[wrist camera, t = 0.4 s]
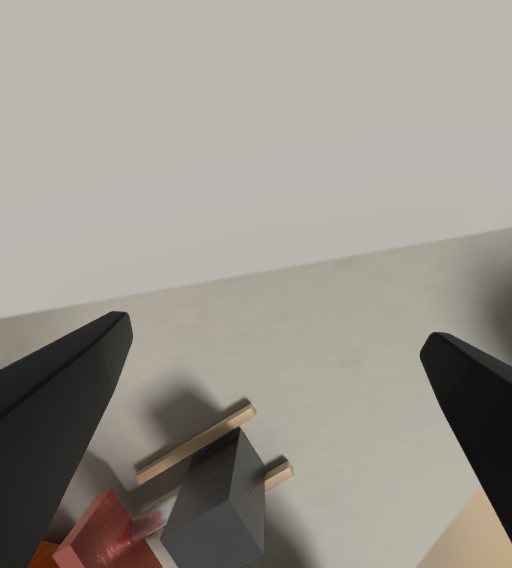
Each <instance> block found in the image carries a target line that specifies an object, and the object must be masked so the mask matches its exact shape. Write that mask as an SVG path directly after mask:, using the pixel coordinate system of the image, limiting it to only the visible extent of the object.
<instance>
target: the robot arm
mask: <svg viewBox="0 0 512 568" xmlns="http://www.w3.org/2000/svg"><path fill="white" fill-rule="evenodd" d="M132 340H133V332H132V327H131V322H130V317H129V314H128V313H127V312H120V311H112V312H109V313H107V314H105V315H104V316H102V317H100V318H98V319H96V320H94V321H92V322H90V323H88V324H86V325H85V326H83V327H81V328H79V329H77V330H75V331H73V332H71V333H69V334H67V335H65V336H64V337H62V338H60V339H58V340H56V341H54V342H52V343H50V344H48V345H46V346H45V347H43V348H41V349H39V350H37V351H35V352H33V353H31V354H29V355H27V356H25V357H24V358H22V359H20V360H18V361H16V362H14V363H12V364H10V365H8V366H6V367H5V368H3V369H1V370H0V568H28V567H29V565H30V563H31V561H32V559H33V557H34V555H35V553H36V551H37V548H38V546H39V544H40V542H41V540H42V538H43V536H44V534H45V532H46V530H47V528H48V526H49V524H50V522H51V520H52V518H53V516H54V514H55V512H56V510H57V508H58V506H59V504H60V502H61V499H62V497H63V495H64V493H65V491H66V489H67V487H68V485H69V483H70V481H71V479H72V477H73V475H74V473H75V471H76V469H77V467H78V465H79V463H80V461H81V459H82V457H83V455H84V453H85V450H86V448H87V446H88V444H89V442H90V440H91V438H92V436H93V434H94V432H95V430H96V428H97V426H98V424H99V422H100V420H101V418H102V416H103V414H104V412H105V410H106V408H107V406H108V404H109V401H110V399H111V397H112V395H113V393H114V390H115V388H116V385H117V383H118V380H119V377H120V374H121V372H122V369H123V366H124V363H125V360H126V358H127V355H128V352H129V349H130V347H131V344H132ZM420 360H421V362H422V364H423V367H424V369H425V372H426V374H427V377H428V379H429V381H430V384H431V386H432V389H433V391H434V393H435V396H436V398H437V401H438V403H439V405H440V407H441V409H442V411H443V413H444V415H445V417H446V419H447V421H448V423H449V425H450V427H451V429H452V431H453V432H454V434H455V436H456V438H457V440H458V442H459V444H460V446H461V448H462V450H463V451H464V453H465V455H466V457H467V459H468V461H469V463H470V465H471V467H472V469H473V470H474V472H475V474H476V476H477V478H478V480H479V482H480V484H481V486H482V488H483V489H484V491H485V493H486V495H487V496H488V499H489V501H490V503H491V505H492V506H493V508H494V510H495V512H496V514H497V516H498V518H499V520H500V522H501V524H502V526H503V527H504V529H505V531H506V533H507V535H508V537H509V539H510V541H511V542H512V366H510V365H508V364H506V363H504V362H502V361H500V360H498V359H496V358H495V357H493V356H491V355H489V354H487V353H485V352H483V351H481V350H479V349H477V348H476V347H474V346H472V345H470V344H468V343H466V342H464V341H462V340H460V339H459V338H457V337H455V336H453V335H451V334H449V333H444V332H433V333H431V334H430V335H429V337H428V339H427V340H426V342H425V344H424V346H423V347H422V349H421V351H420Z"/></svg>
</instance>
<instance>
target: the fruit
mask: <svg viewBox="0 0 512 568" xmlns="http://www.w3.org/2000/svg"><path fill="white" fill-rule="evenodd" d="M59 546H60V544H55V543H52V542H47V541H41V542H40V544H39V546H38V548H37V551H36V553H35V555H34V557H33V559H32V561H31V563H30V565H29V567H28V568H60V567H59V566H58V564H57V563H56V561H55V560H54V558H53V556H52V555H53V554H54V552H55V551H56V550H57V548H58V547H59Z"/></svg>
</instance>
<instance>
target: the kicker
mask: <svg viewBox="0 0 512 568" xmlns="http://www.w3.org/2000/svg"><path fill="white" fill-rule="evenodd" d="M264 521H265V466H264V464H263V463H262V461H261V460H260V458H259V456H258V455H257V453H256V452H255V450H254V449H253V447H252V446H251V444H250V442H249V441H248V439H247V438H246V436H245V435H244V433H243V432H242V430H241V429H239V430H237V431H236V432H234V433H232V434H231V435H229V436H227V437H226V438H224V439H222V440H221V441H219V442H217V443H216V444H214V445H212V446H211V447H209V448H207V449H206V450H204V451H202V452H200V453H199V454H197V455H195V456H194V457H193V459H192V461H191V464H190V466H189V468H188V471H187V473H186V476H185V478H184V481H183V483H182V486H181V488H180V491H178V492H177V493H175V494H173V495H171V496H170V497H168V498H166V499H165V500H163V501H161V502H160V503H158V504H156V505H154V506H153V507H151V508H149V509H148V510H146V511H144V512H143V513H141V514H139V515H138V516H136V517H134V518H133V519H131V518H130V516H129V515H128V513H127V511H126V510H125V508H124V507H123V505H122V504H121V502H120V501H119V499H118V498H117V496H116V495H115V493H114V492H113V490H112V488H110V489H109V490H107V491H105V492H104V493H102V494H100V495H99V496H97V497H96V498H95V500H94V501H93V502H92V504H91V505H90V506H89V508H88V509H87V510H86V512H85V513H84V514H83V515H82V517H81V518H80V519H79V521H78V522H77V523H76V525H75V526H74V527H73V529H72V530H71V531H70V533H69V534H68V535H67V536H66V538H65V539H64V540H63V542H62V543H61V544H60V546H59V547H58V548H57V550H56V551H55V552H54V554H53V555H52V556H53V558H54V560H55V561H56V563H57V564H58V566H59V567H60V568H163V567H162V565H161V564H160V562H159V560H158V559H157V557H156V556H155V554H154V553H153V551H152V550H151V548H150V547H149V545H148V544H147V542H146V541H145V539H144V537H146V536H147V535H149V534H151V533H152V532H154V531H156V530H158V529H159V528H161V527H163V526H164V525H165V528H164V530H163V533H162V535H161V538H160V540H161V542H162V543H163V545H164V546H165V548H166V549H167V551H168V552H169V554H170V556H171V557H172V559H173V560H174V562H175V563H176V565H177V566H178V568H242V567H244V566H246V565H247V564H249V563H251V562H253V561H255V560H256V559H258V558H260V557H262V556H263V555H264Z"/></svg>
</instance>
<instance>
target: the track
mask: <svg viewBox="0 0 512 568" xmlns="http://www.w3.org/2000/svg"><path fill="white" fill-rule="evenodd" d="M255 416H256V410H255V408H254V406H253V405H252V403H250V404H249V405H247V406H245V407H244V408H242V409H240V410H239V411H237V412H235V413H234V414H232V415H230V416H229V417H227V418H226V419H224V420H222V421H221V422H219V423H217V424H216V425H214V426H212V427H211V428H209V429H207V430H206V431H204V432H202V433H201V434H199V435H197V436H196V437H194V438H192V439H191V440H189V441H187V442H186V443H184V444H182V445H181V446H179V447H177V448H176V449H174V450H172V451H171V452H169V453H167V454H166V455H164V456H162V457H161V458H159V459H157V460H156V461H154V462H152V463H151V464H149V465H147V466H146V467H144V468H142V469H141V470H139V472H138V473H137V475H136V476H135V479H136V481H137V482H138V484H139V485H141V484H143V483H144V482H146V481H148V480H149V479H151V478H153V477H154V476H156V475H158V474H159V473H161V472H163V471H164V470H166V469H168V468H169V467H171V466H173V465H174V464H176V463H178V462H179V461H181V460H183V459H184V458H186V457H188V456H189V455H191V454H193V453H194V452H196V451H198V450H199V449H201V448H203V447H204V446H206V445H208V444H209V443H211V442H213V441H214V440H216V439H218V438H219V437H221V436H223V435H224V434H226V433H228V432H230V431H231V430H233V429H235V428H236V427H238V426H240V425H241V424H243V423H245V422H246V421H248V420H250V419H251V418H253V417H255ZM292 476H294V472H293V467H292V466H291V464H290V463H289V461H286V462H285V463H283V464H281V465H279V466H278V467H276V468H274V469H272V470H271V471H269V472H267V473H266V474H265V492H266V491H268V490H269V489H271V488H273V487H274V486H276V485H278V484H280V483H281V482H283V481H285V480H287V479H288V478H290V477H292Z"/></svg>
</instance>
